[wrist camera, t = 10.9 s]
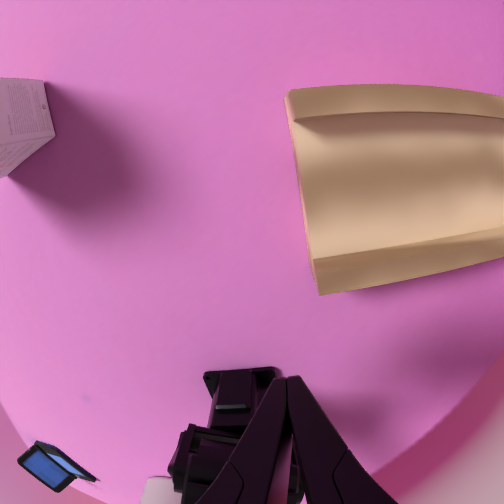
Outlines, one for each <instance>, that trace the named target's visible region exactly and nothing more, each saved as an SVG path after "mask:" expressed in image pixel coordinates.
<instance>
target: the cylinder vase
mask: <svg viewBox="0 0 504 504" xmlns="http://www.w3.org/2000/svg"><path fill="white" fill-rule="evenodd" d="M173 488H174V483H173V482H172V478H169V477H151V478H149V479H147V481H146V484H145V487H144V491H143V494H142V498H141V501H140V504H181V498H182V494H181V493H177V492H174V489H173Z"/></svg>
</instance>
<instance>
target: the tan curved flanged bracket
mask: <svg viewBox="0 0 504 504" xmlns="http://www.w3.org/2000/svg"><path fill="white" fill-rule="evenodd" d="M284 103H285V108H286V113H287V119H288V124H289V129H290V135H291V141H292V146H293V152H294V158H295V164H296V171H297V177H298V183H299V190H300V197H301V204H302V211H303V218H304V226H305V234H306V242H307V250H308V259H309V264H310V268H311V271H312V274H313V277H314V281H315V283H316V285H317V289H318V292H319V295H320V296H321V295H327V294H333V293H339V292H345V291H351V290H357V289H362V288H368V287H373V286H378V285H383V284H389V283H394V282H399V281H404V280H408V279H413V278H418V277H423V276H427V275H432V274H436V273H441V272H445V271H449V270H454V269H458V268H462V267H466V266H470V265H474V264H478V263H482V262H486V261H490V260H494V259H497V258H501V257H504V97H502V96H497V95H492V94H486V93H481V92H475V91H468V90H461V89H453V88H444V87H433V86H420V85H398V84H360V85H337V86H323V87H311V88H302V89H293V90H290V92H287V93H286V96H285V98H284Z"/></svg>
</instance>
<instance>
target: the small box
mask: <svg viewBox="0 0 504 504" xmlns="http://www.w3.org/2000/svg"><path fill="white" fill-rule="evenodd" d="M54 137H55V131H54V127H53V124H52V120H51V115H50V111H49V107H48V102H47V98H46V93H45V88H44V82H43V80H35V79H20V78H0V178H2V177H6V176H7V175H8V174H9V173H10V172H11V171H12V170H14V169H15V168H16V167H17V166H18V165H19V164H21V163H22V162H23V161H24V160H25V159H27V158H28V157H29V156H30V155H31V154H33V153H34V152H35V151H36V150H38V149H39V148H40V147H42V146H43V145H44V144H46V143H47V142H48V141H50V140H51V139H52V138H54Z"/></svg>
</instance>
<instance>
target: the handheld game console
mask: <svg viewBox="0 0 504 504" xmlns="http://www.w3.org/2000/svg"><path fill="white" fill-rule="evenodd" d="M17 462H18V464H19V465H20V466H22V467H23V468H24V469H25V470H26V471H28V472H29V473H30V474H32V475H33V476H34V477H35V478H37V479H38V480H39V481H41V482H42V483H43V484H45V485H46V486H47V487H49V488H50V489H52V490H53V491H54V492H57V493H59V492H61V491H62V490H63V489H64V488H66V486H68V485H69V484H70V483H71V482H72V481H73V480H74V479H77V478H81V479H84V480H88V481H91V482H95V481H96V479H95V477H93V476H92V475H91V474H89V473H88V472H87V471H85V470H84V469H83V468H81V467H80V466H79V465H77V464H76V463H75V462H74V461H72V460H71V459H70V458H69V457H68V456H66V455H65V454H64V453H63V452H62V451H60V450H59V449H58V448H57V447H55V446H53V445H49V444H46V443H43V442H39V441H36V442H35V444H34V445H33V446H32V447H30V448H29V449H28V450H27V451H26V452H25V453H24V454H23V455H21V456H20V457H19V458H18V459H17Z"/></svg>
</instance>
